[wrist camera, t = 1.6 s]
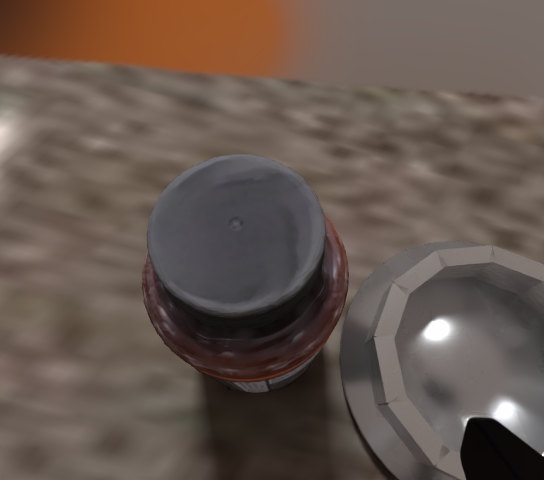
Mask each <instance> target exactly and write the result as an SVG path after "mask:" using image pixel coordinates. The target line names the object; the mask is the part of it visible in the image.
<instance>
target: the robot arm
mask: <svg viewBox="0 0 544 480" xmlns="http://www.w3.org/2000/svg"><path fill="white" fill-rule="evenodd" d="M460 459H461V464H462V468H463V471H464V474H465V477H466V480H544V456H542V455H541V454H540V453H539V452H537V451H536V450H535V449H533V448H532V447H531V446H530V445H528V444H527V443H526V442H524V441H523V440H522V439H520V438H519V437H518V436H517V435H515V434H514V433H513V432H511V431H510V430H509V429H508V428H506V427H505V426H504V425H502V424H501V423H500V422H498V421H497V420H495V419H493V418H488V417H472V418H470V419H469V420H468V421H467V424H466V428H465V432H464V436H463V440H462V444H461V449H460Z"/></svg>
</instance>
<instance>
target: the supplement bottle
mask: <svg viewBox="0 0 544 480" xmlns="http://www.w3.org/2000/svg"><path fill="white" fill-rule="evenodd" d="M147 247H148V251H147V254H146V259H145V262H144V267H143V271H142V273H143V275H142V290H143V296H144V304H145V307H146V309H147V312H148V315H149V318H150V320H151V323H152V324H153V326H154V328H155V330H156V332H157V334H159V336H160V337H161V338H162V340H163V341H164V344H165V345H166V346H168V347H169V348H170V349H171V351H173V352H174V353H175V354H176V355H177V356H179V357H180V358H181V359H183V360H184V361H185V362H187V363H188V364H190V365H191V366H192V367H194V368H195V369H196V370H198V371H199V372H202V373H205V374H207V375H208V376H210V377H212V378H214V379H216V380H217V381H219V382H221V383H223V384H224V385H225V386H227V388H228V389H229V390H230V388H232V389H235V390H240V391H246V392H253V393H256V392H268V391H273V390H277V389H280V388H282V387H284V386H287V385H288V384H290V383H291V382H293V381H294V380H295V379H297V378H298V377H299V376H301V375H302V374H303V373H304V372H305V371H306V369H307V368H308V367H309V366H310V365H311V363H312V362H313V360H314V359H315V357H316V356H317V354H318V353H319V352H320V350H321V349H322V347H323V345H324V344H325V343H326V341H327V340H328V338H329V336H330V335H331V333H332V331H333V329H334V328H335V326H336V324H337V322H338V320H339V318H340V316H341V314H342V311H343V308H344V305H345V301H346V296H347V292H348V277H349V272H348V262H347V256H346V251H345V249H344V245H343V243H342V240H341V238H340V236H339V234H338V232H337V230H336V228H335V227H334V225H333V223H332V222H331V221H330V219H329V218H328V217H327V215H326V214H325V213H324V212H323V209H322V207H321V205H320V203H319V200H318V198H317V196H316V194H315V192H314V191H313V190H312V188H311V187H310V186H309V185H308V183H307V182H306V181H305V180H304V179H303V178H302V177H301V176H300V175H299V174H297V173H296V172H295V171H294V170H292V169H291V168H289V167H286V166H284V165H283V164H281V163H279V162H276V161H274V160H272V159H269V158H265V157H259V156H255V155H246V154H234V155H226V156H219V157H215V158H212V159H210V160H206V161H204V162H202V163H199V164H197V165H195V166H193V167H191V168H190V169H188V170H186V171H185V172H183V173H182V174H180V175H179V176H178V177H177V178H176V179H175V180H173V181H172V182H171V183H170V184H169V185H168V187H167V188H166V189H165V190H164V192H163V193H162V194H161V195H160V196H159V198H158V200H157V202H156V204H155V206H154V208H153V211H152V214H151V217H150V220H149V225H148V231H147ZM229 387H230V388H229Z"/></svg>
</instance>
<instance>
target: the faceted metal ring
mask: <svg viewBox="0 0 544 480" xmlns="http://www.w3.org/2000/svg"><path fill="white" fill-rule="evenodd" d="M340 370H341V379H342V384H343V388H344V393H345V397H346V400H347V403H348V406H349V409H350V412H351V414H352V417H353V419H354V421H355V423H356V425H357V427H358V429H359V431H360V433H361V435H362V436H363V438H364V439H365V441H366V442H367V444H368V446H369V447H370V449H371V450H372V452H373V453H374V454H375V455H376V457H377V458H378V459H379V460H380V462H381V463H382V464H383V465H384V466H385V468H386V469H387V470H388V471H390V472H391V473H392V474H393V475H394V476H395V477H396V478H397V479H398V480H466V477H465V474H464V471H463V468H462V464H461V459H460V449H461V444H462V440H463V436H464V432H465V428H466V424H467V421H468V420H469V419H470V418H472V417H488V418H493V419H495V420H497V421H498V422H500V423H501V424H502V425H504V426H505V427H506V428H508V429H509V430H510V431H511V432H513V433H514V434H515V435H517V436H518V437H519V438H520V439H522V440H523V441H524V442H526V443H527V444H528V445H530V446H531V447H532V448H533V449H535V450H536V451H537V452H539V453H540V454H541V455H542V456H544V264H541V263H538V262H536V261H533V260H530V259H528V258H525V257H522V256H520V255H517V254H514V253H512V252H509V251H506V250H504V249H501V248H498V247H496V246H491V245H488V246H486V245H481V244H476V243H470V242H459V241H446V242H435V243H428V244H424V245H420V246H417V247H413V248H410V249H408V250H406V251H403V252H401V253H399V254H397V255H395V256H394V257H392V258H390V259H389V260H387V261H386V262H384V263H383V264H382V265H381V266H380V267H378V268H377V269H376V270H375V271H374V272H373V273H372V274H371V275H370V276H369V277H368V278H367V280H366V281H365V282H364V283H363V285H362V286H361V288H360V289H359V291H358V292H357V294H356V295H355V297H354V299H353V301H352V303H351V305H350V307H349V309H348V312H347V315H346V318H345V321H344V324H343V329H342V335H341V340H340Z"/></svg>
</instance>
